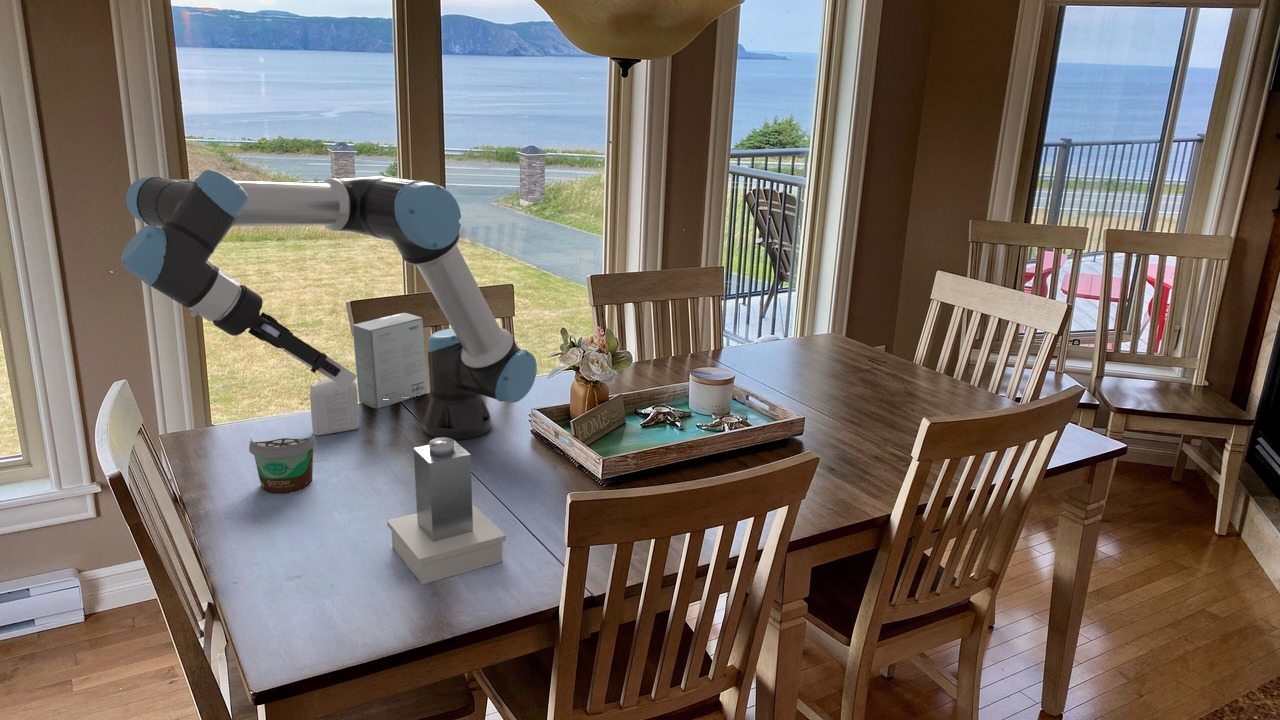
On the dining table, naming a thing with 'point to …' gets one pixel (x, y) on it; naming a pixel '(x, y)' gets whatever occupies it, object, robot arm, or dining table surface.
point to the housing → (443, 489)
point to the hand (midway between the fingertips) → (334, 372)
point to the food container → (284, 463)
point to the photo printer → (333, 407)
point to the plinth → (446, 547)
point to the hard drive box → (390, 359)
